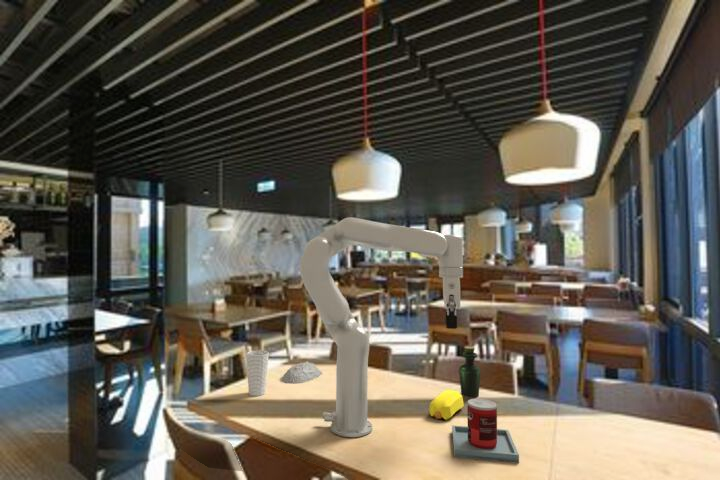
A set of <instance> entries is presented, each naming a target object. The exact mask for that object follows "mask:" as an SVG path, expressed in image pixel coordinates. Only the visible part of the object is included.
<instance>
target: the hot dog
mask: <svg viewBox="0 0 720 480" xmlns="http://www.w3.org/2000/svg"><path fill="white" fill-rule="evenodd" d="M463 397H464V396H463V395H462V394H461V392H460V391H458V390H452V389H446V390H444V391H442V392H441V393H439V394H438V395H437V396H436V397H435V398H434V399H432V401H431V402H430V405H429V411H428V412H429V414H430V416H431V417H432V418H434V419H436V420H441V419H442V418H443V419H444V420H445V421H448V420H449V419H450V418H452V416H453V415H454V414H455V413H456V412H458V411H459V410H461V409H462V408H463V407H464V398H463Z"/></svg>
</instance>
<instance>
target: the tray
mask: <svg viewBox="0 0 720 480" xmlns="http://www.w3.org/2000/svg"><path fill="white" fill-rule="evenodd" d="M451 432H452V433H451V434H452V444H453V454H454V458H460V459H461V458H462V459H469V460H470V459H472V460H480V461H481V460H483V461H491V462H492V461H493V462H502V463H514V464H520V455H519V452H518V449H517V448H516V445H515V443H514V441H513V438H512V436H511V433H510V431H509V430H508V429H501V428H497V444H496V447H494V448H492V449H481V448H477V447H474V446H472V445H471V444H470V443H469V441H468V426H467V425H466V426H463V425H451Z"/></svg>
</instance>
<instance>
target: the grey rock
mask: <svg viewBox="0 0 720 480" xmlns="http://www.w3.org/2000/svg"><path fill="white" fill-rule="evenodd" d="M321 371H322V370H320V369H319V367H318V366H316V364H314V363H313V362H309V361H305V362H299V363H297V364H295V365H293V366H291V367H289V369H287V370H286V372H284V374H283V376H282V377H281V378H280V382H281V383H282V384H292V385H293V384H294V385H296V384H304V383H307V382H310V381H313V380H316V379H317V378H320V377H321V376H322V375H323V374H322V372H323V371H322V372H321ZM320 375H321V376H320ZM319 376H320V377H319Z"/></svg>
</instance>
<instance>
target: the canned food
mask: <svg viewBox="0 0 720 480" xmlns="http://www.w3.org/2000/svg"><path fill="white" fill-rule="evenodd" d="M466 407H467V427H468V441H469V443H470V444H471V445H472V446H474V447H477V448H481V449H492V448H494V447H496V444H497V429H498V407H497V403H496V402H494V401H492V400H490V399H486V398H479V397H478V398H477V397H476V398H470V399H468V400H467V406H466Z"/></svg>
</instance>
